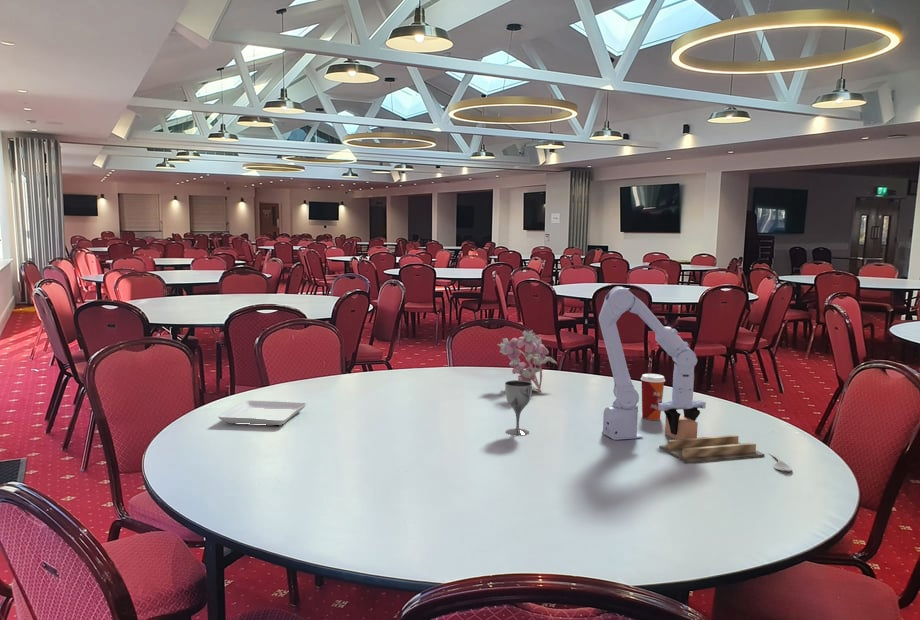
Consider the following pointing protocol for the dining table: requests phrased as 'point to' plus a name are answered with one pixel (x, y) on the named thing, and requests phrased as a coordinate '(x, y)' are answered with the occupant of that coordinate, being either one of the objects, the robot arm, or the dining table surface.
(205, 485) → the dining table surface
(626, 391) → the robot arm
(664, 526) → the dining table surface
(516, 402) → the wine glass
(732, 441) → the wooden stand
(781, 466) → the spoon
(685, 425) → the block
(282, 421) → the salad plate
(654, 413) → the paper cup
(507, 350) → the flower
